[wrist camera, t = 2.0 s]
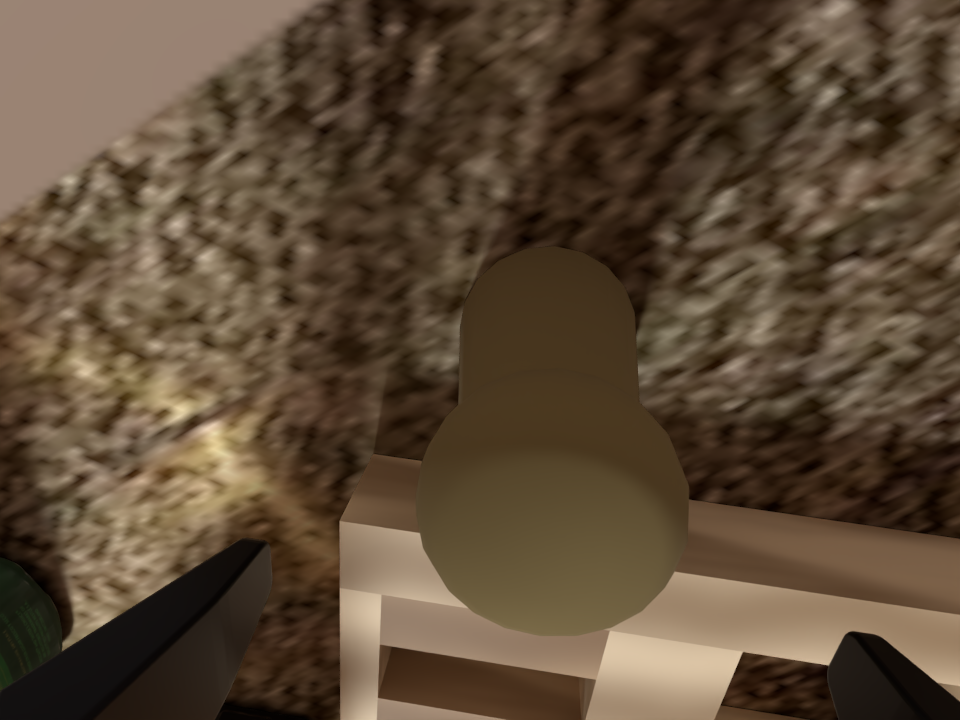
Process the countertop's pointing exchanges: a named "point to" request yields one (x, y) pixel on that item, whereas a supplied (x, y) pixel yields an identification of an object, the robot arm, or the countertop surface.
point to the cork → (551, 456)
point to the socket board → (645, 636)
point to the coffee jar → (25, 624)
